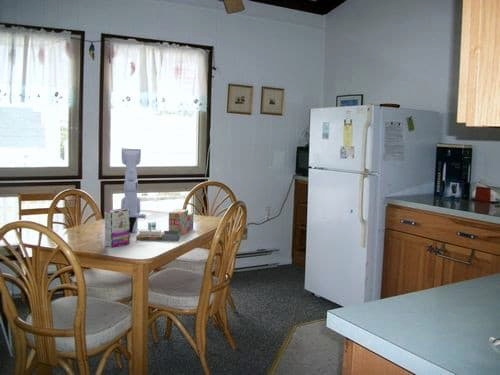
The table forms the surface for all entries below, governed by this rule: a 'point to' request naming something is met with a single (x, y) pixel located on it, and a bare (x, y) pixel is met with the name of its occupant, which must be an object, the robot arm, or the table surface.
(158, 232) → the tile
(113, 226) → the candy bar box
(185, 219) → the stack of blocks
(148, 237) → the board
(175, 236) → the tray
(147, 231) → the tile
